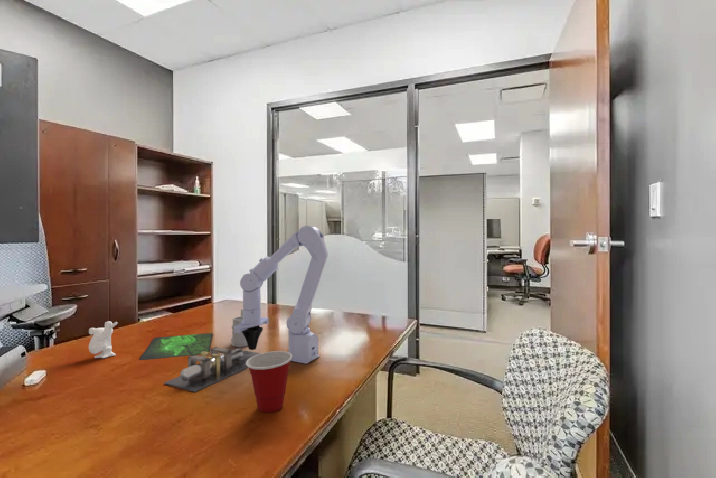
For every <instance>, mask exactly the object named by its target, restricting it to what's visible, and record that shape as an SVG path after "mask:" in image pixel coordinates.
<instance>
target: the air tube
mask: <svg viewBox="0 0 716 478" xmlns="http://www.w3.org/2000/svg"><path fill="white" fill-rule="evenodd" d="M243 351H244V350H243V349H242V348H241V347H238V348H236V349H233V350H232V362H233V361H235V360H238V359H240V358H242V357H243ZM206 357H207V356H206ZM207 358H210V371H211V370H214V369H215V357H214V358H212V357H211V356H208V357H207ZM223 365H224V354H222V353H221V354H220V367H221V366H223ZM199 375H202V362H198V363H196V365H193V366H191V367H188V366H187V367H186V368H183V369H182V370H181V371H180V376H181V378H182V380H183V381H187V380H190V379H192V378H195V377H197V376H199Z"/></svg>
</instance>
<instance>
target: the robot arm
mask: <svg viewBox="0 0 716 478" xmlns="http://www.w3.org/2000/svg"><path fill="white" fill-rule="evenodd" d="M300 247H304V248H306V250H307V251H308V253H309V255H310V261H309V264H308V268H307V271H306V274H305V276H304V277H305V278H304V281H303V284H302V287H301V290H300V292H299V296H298V299H297V302H296V304H295V306H294V308H293V311H292V313H291V314H290V315H289V316H288V317H287V319H286V329H288V330H287V331H288V332H287V333H288V338H287V340H288V348H287V349H288V350H287V352H289V353H291V354H292V359H291V361H290V362H295V363H300V364H309V363H310V362H312V361H314V360H316V359H318V358H320V355H319V336H318V335H317V334H316V333H314V332H312V331H311V327H310V326H309V325H310V324H311V321H312V314H311V313H312V309H313V307H312V306H313V302H314V300H315V295H316V293H317V290H318V287H319V283H320V280H321V277H322V274H323V272H324V269H325V264H326V263H327V258H328V249H327V245H326V242H325V236H324V234H323V233H322V232H321V230H320V229H319V228H318V227H317V226H310V225H304V226H302V227H300V228H299V230H298V231H295V232H294V233H293V234H291V236H289V238H288V239H287V240H286V241H284V242H283V244H282V245H280V247H279V248H278V249H277V250H276V251H274V253H273V254H271V256H264V257H261V258H259V260H258V262H259V263H257V265H255V266H253V268H250V269H249V273H245V274H243V275H242V276H241V278H240V281H239V285H240V288H241V289H242V309H243V321H242V323H241V324H239V325H237V326H234V333H240V332H242V333H243V335H244V336H245V339H246V341H247V344H248V346H247V347H248V351H254V350H257V346H258V343H259V339H260V335H261V334H262V332H263V329H264V327H263V326H262V325H268V324H269V323H270V321H269V319H270V318H269V317H262V314H261V313H262V309H261V308H262V307H261V305H262V303H261V301H262V298H261V297H262V295H261V288H262V286H263V284H264V283H265V282H266V281H267V280H268V279H269V278H270V277H271V276H272V275H273V274H274V273H275V272H276V271H277V270H278V269H279V268H278V267H279V263H280V262H281V261H283V259H284V258H286V257H287V256H288V255H289V254H290V253H292V252H293V251H294V250H295V249H297V248H300Z"/></svg>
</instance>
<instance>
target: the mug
mask: <svg viewBox="0 0 716 478" xmlns="http://www.w3.org/2000/svg"><path fill="white" fill-rule="evenodd" d="M242 321H243V308H241V309H240V316H235V317H233V318H232V325H231V330H232V331H231V332H232V334H231V339H230V342H231V346H232V347H236V348H237V347H238V348H243V347H248V344H247V341H246V339H245V336H244V335H243V333H242V332H240V333H234V326H237V325H239V324H241V323H242Z"/></svg>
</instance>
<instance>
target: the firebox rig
mask: <svg viewBox="0 0 716 478" xmlns="http://www.w3.org/2000/svg"><path fill="white" fill-rule="evenodd" d="M232 351H233V350H232V349H228V348H224V347H222V348H221V347H217V346H214V347H212V348H210V352H205V351H204V352H201V355H192V356H187V358H188V359H187V368H188V367H191V366H193V365H196V364H197V362H198V363H201V362H202V375H199V376H197V377H195V378H192V379H190V380H187V381H183V380H182V378H181V375H178V376H177V377H175V378H171V379H168V380H167V381H165V382H164V383H163V384H164V385H166V386H169V387H174V388H177V389H181V390H185V391H189V392H192V393H197V392H198V391H201V390H203V389H205V388H207V387H209V386H212V385H214V384H216V383H219V382H221V381H222V380H224V379H227V378H229V377H231V376H233V375H235V374H238V373H240V372H242V371H245V370H246V369H249V368H248V367H247V365H246V361H247V360H248V359H249V358H251V357H253V356H255V355H258V354H261V353H262V352H261V353H260V352H255V351H252V350H242V351H243V357H242V358H240V359H238V360H235V361H233V362H232ZM222 354H224V365H223V366H221V367H220V355H222ZM207 356H208V357H209V356H210V357H212V358H214V357H215V369H214V370H211V371H210V358H207Z"/></svg>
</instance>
